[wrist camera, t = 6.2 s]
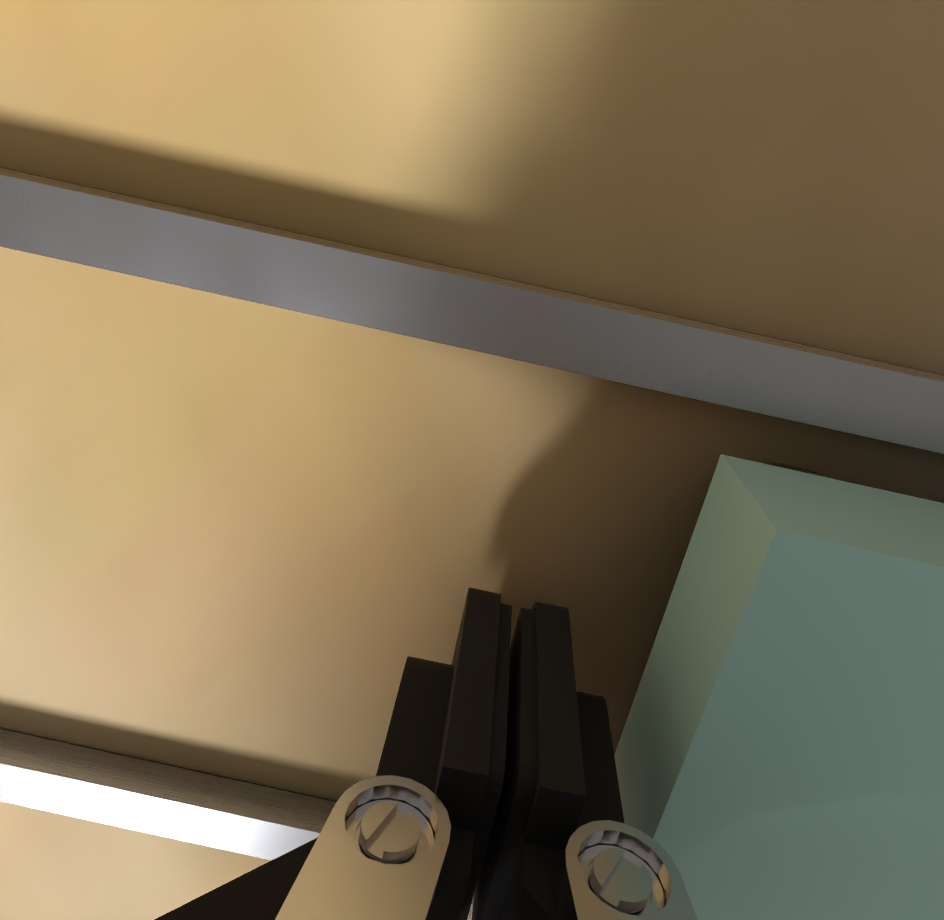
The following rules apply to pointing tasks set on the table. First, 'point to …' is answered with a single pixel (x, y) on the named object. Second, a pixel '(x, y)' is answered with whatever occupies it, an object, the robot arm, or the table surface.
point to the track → (425, 317)
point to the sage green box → (798, 703)
